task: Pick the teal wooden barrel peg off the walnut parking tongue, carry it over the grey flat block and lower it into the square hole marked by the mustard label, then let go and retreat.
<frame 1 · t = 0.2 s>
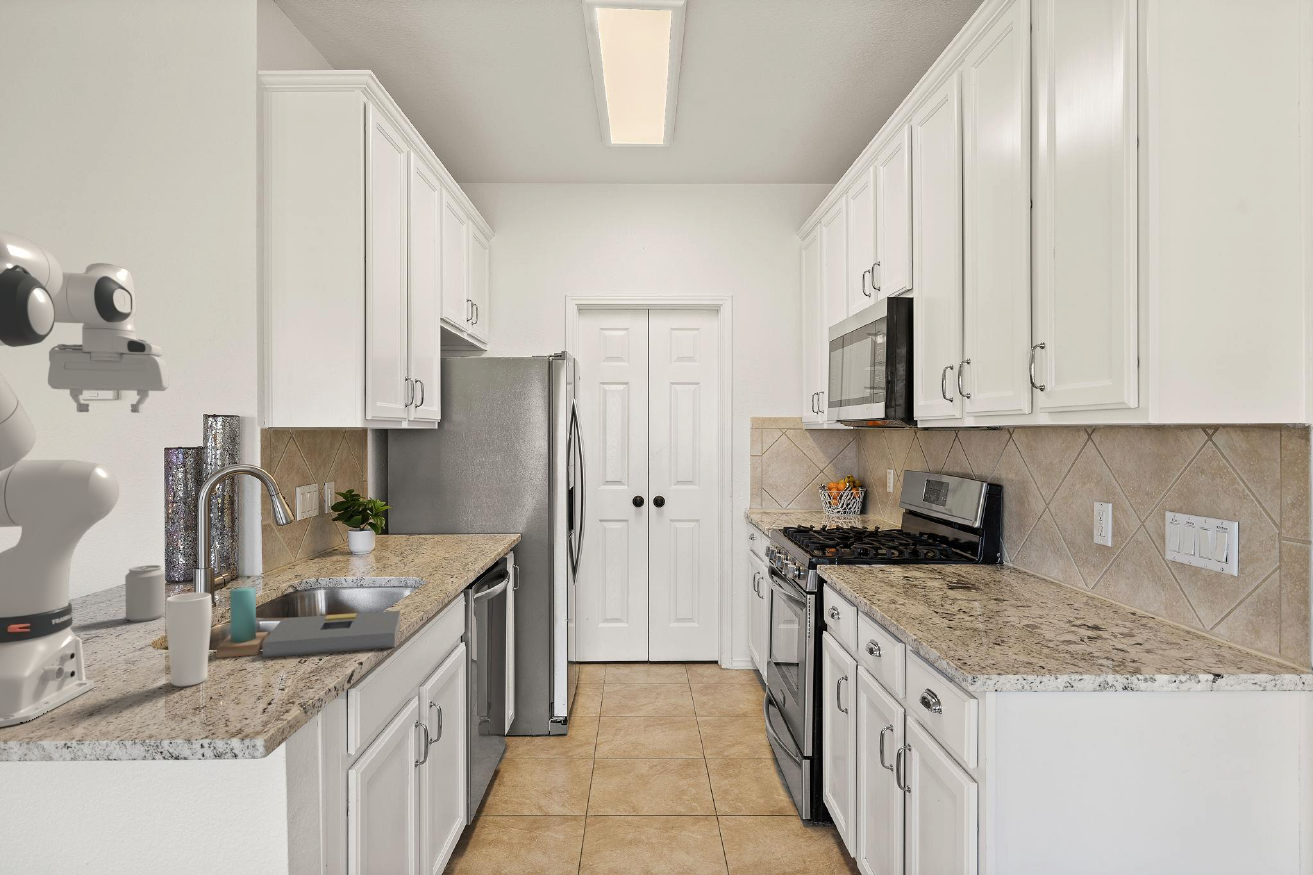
hand: (110, 412, 147), 47 cm above the countertop, fingers open, 8 cm apart
barrel peg: (243, 639, 143), point 2 cm above the countertop, touching parking tongue
can: (145, 619, 165), on the countertop
grey flat block: (336, 639, 149), on the countertop
drinking glass: (189, 683, 124), on the countertop
parking tongue: (243, 649, 143), on the countertop
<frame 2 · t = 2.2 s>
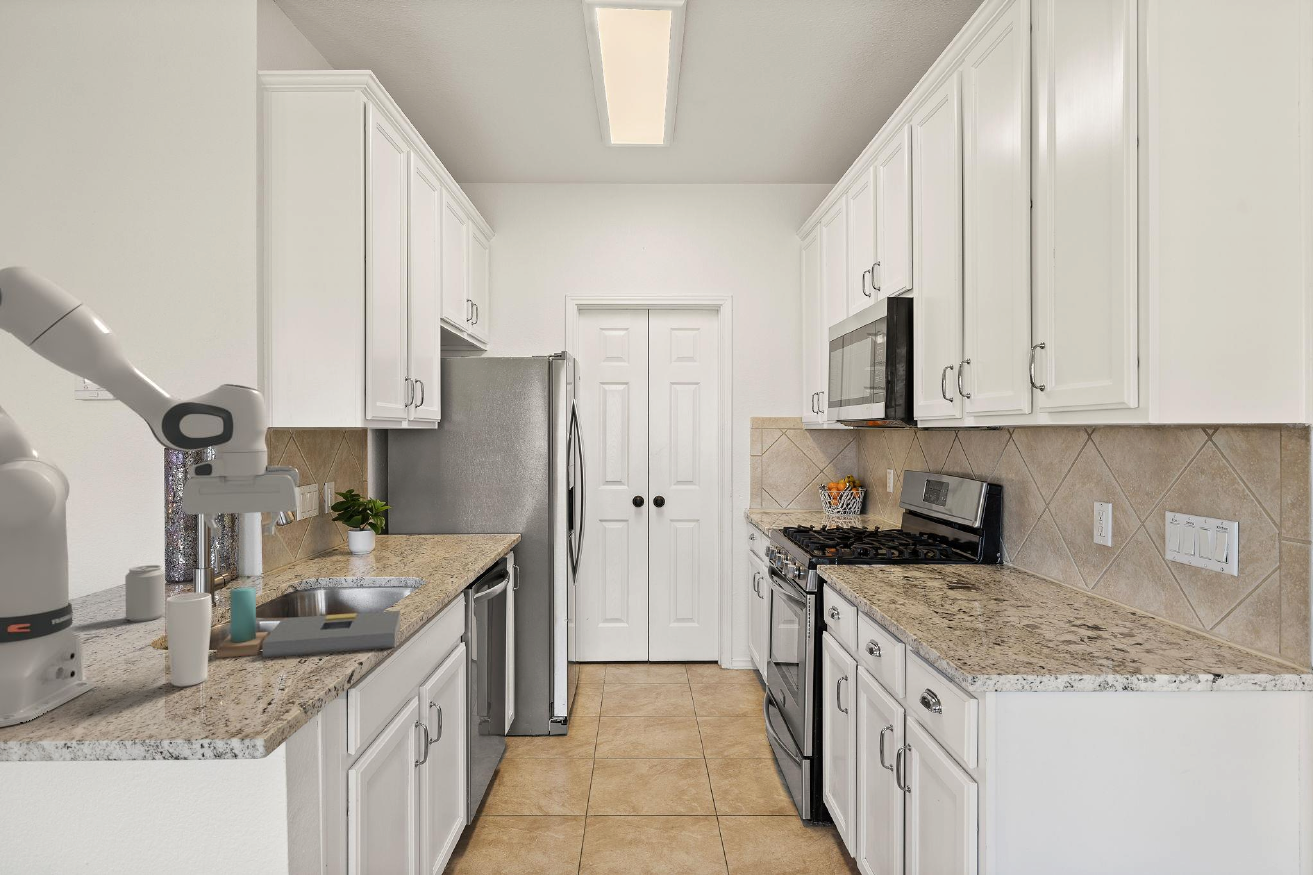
hand: (242, 535, 142), 23 cm above the countertop, fingers open, 8 cm apart
nothing on the countertop moved.
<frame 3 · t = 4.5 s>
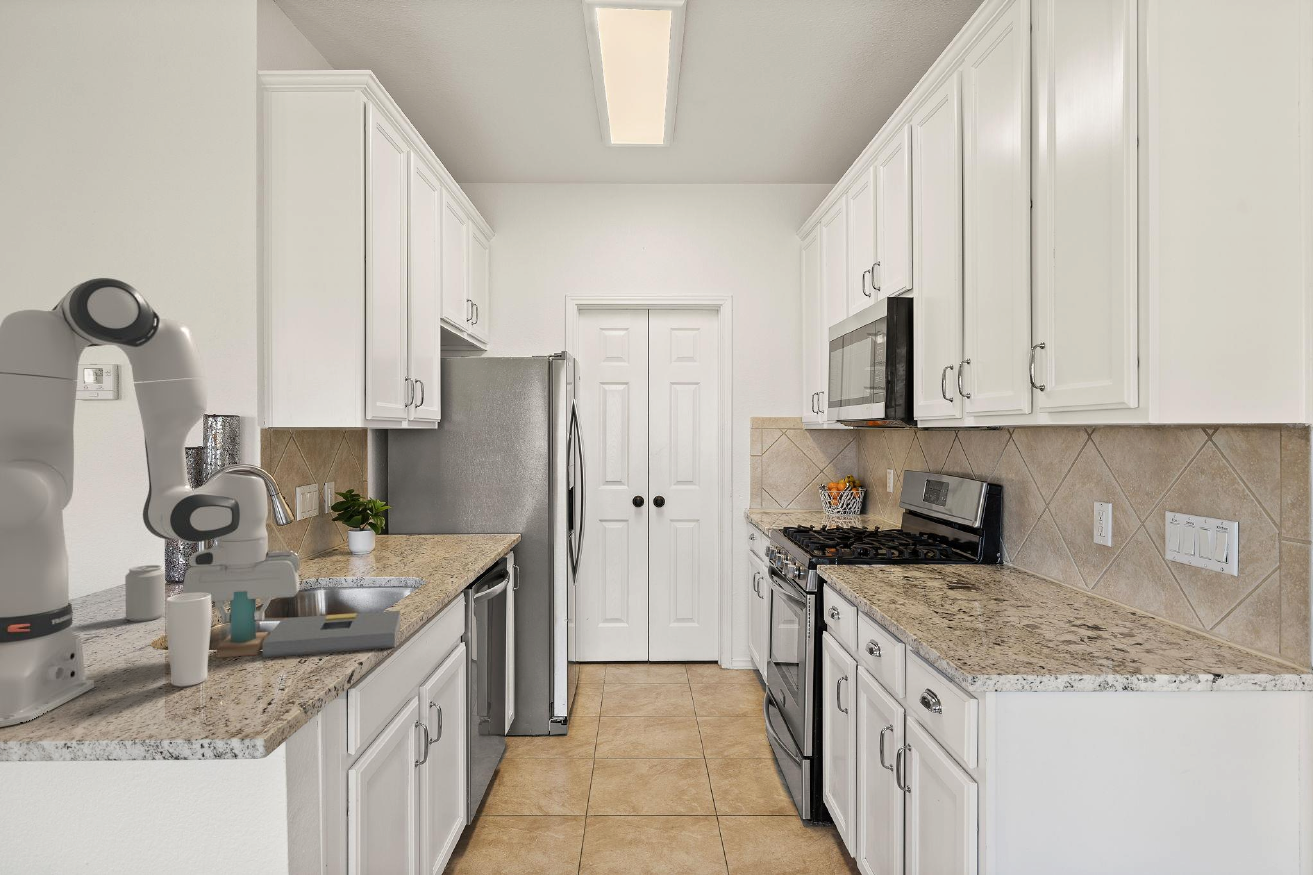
hand: (243, 621, 143), 6 cm above the countertop, fingers closed on barrel peg, 4 cm apart
barrel peg: (243, 639, 143), point 2 cm above the countertop, touching gripper, parking tongue
everything else where it was.
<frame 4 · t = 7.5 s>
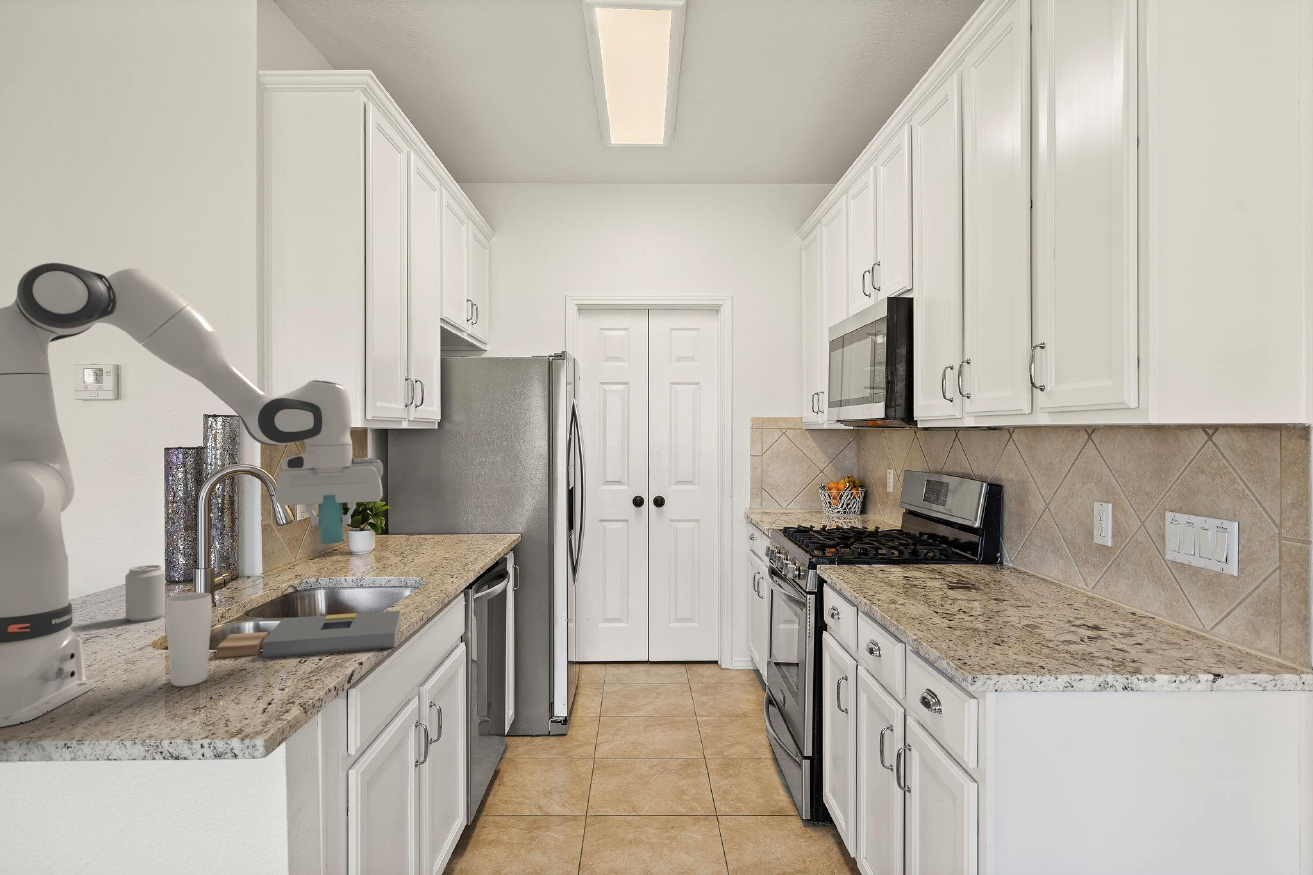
hand: (331, 524, 149), 24 cm above the countertop, fingers closed on barrel peg, 4 cm apart
barrel peg: (331, 541, 149), point 21 cm above the countertop, touching gripper
everything else where it was.
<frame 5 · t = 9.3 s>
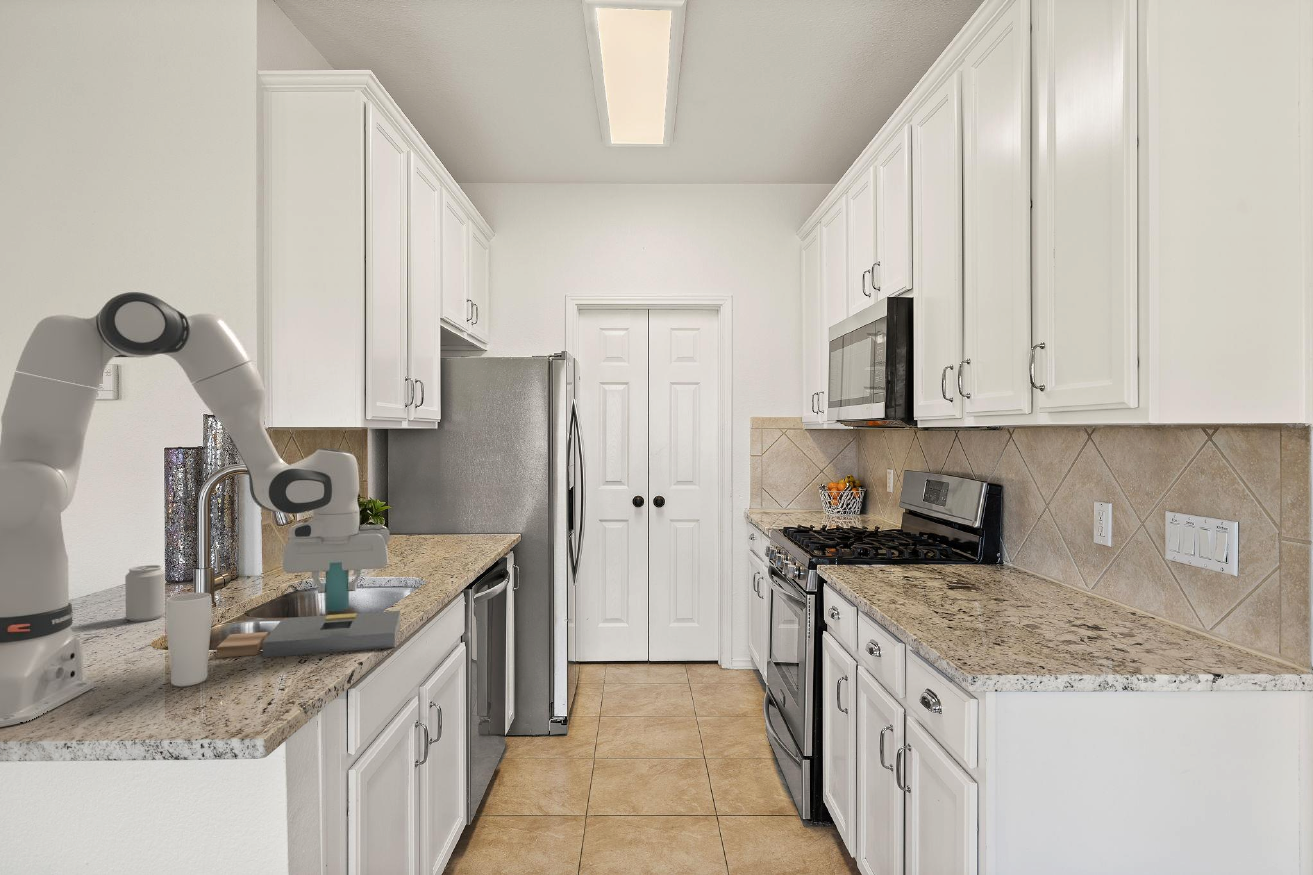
hand: (337, 591, 149), 10 cm above the countertop, fingers closed on barrel peg, 4 cm apart
barrel peg: (337, 608, 149), point 6 cm above the countertop, touching gripper
everything else where it was.
when the fingers open (6 cm above the countertop, at t = 10.5 s): barrel peg drops 2 cm, resting in grey flat block.
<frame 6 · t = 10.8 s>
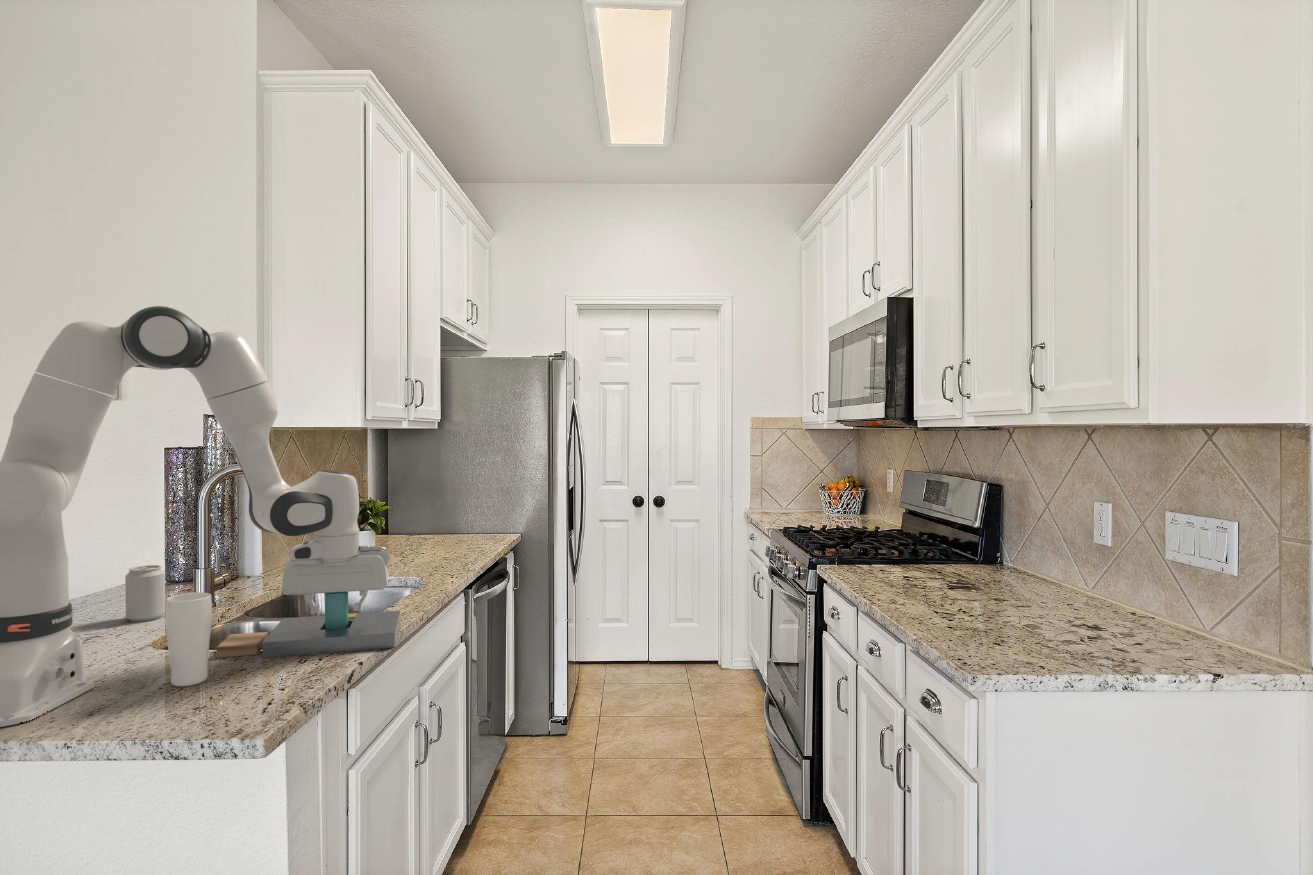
hand: (336, 612, 149), 6 cm above the countertop, fingers open, 7 cm apart
barrel peg: (336, 639, 149), resting in grey flat block
everything else where it was.
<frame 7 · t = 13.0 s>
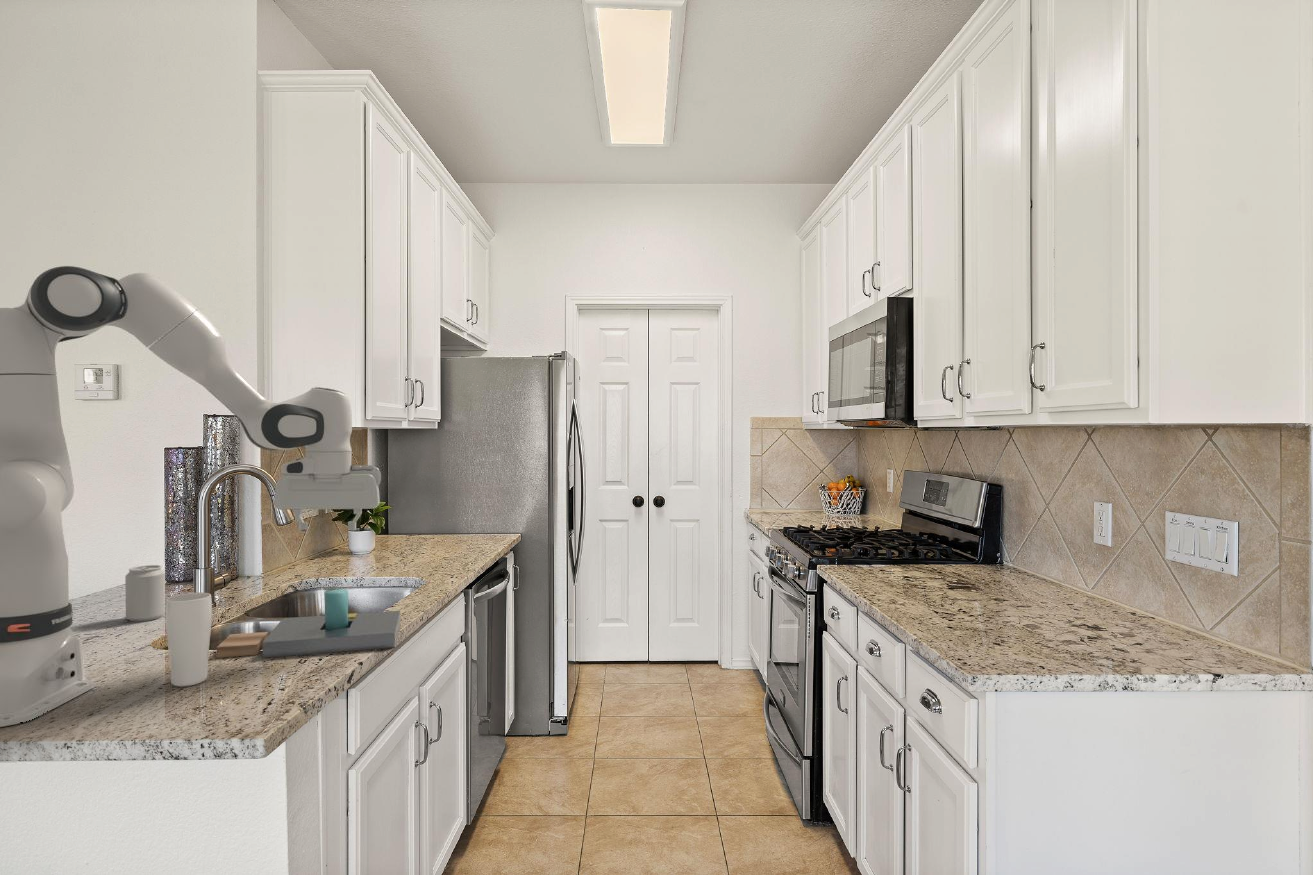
hand: (327, 530, 151), 23 cm above the countertop, fingers open, 8 cm apart
nothing on the countertop moved.
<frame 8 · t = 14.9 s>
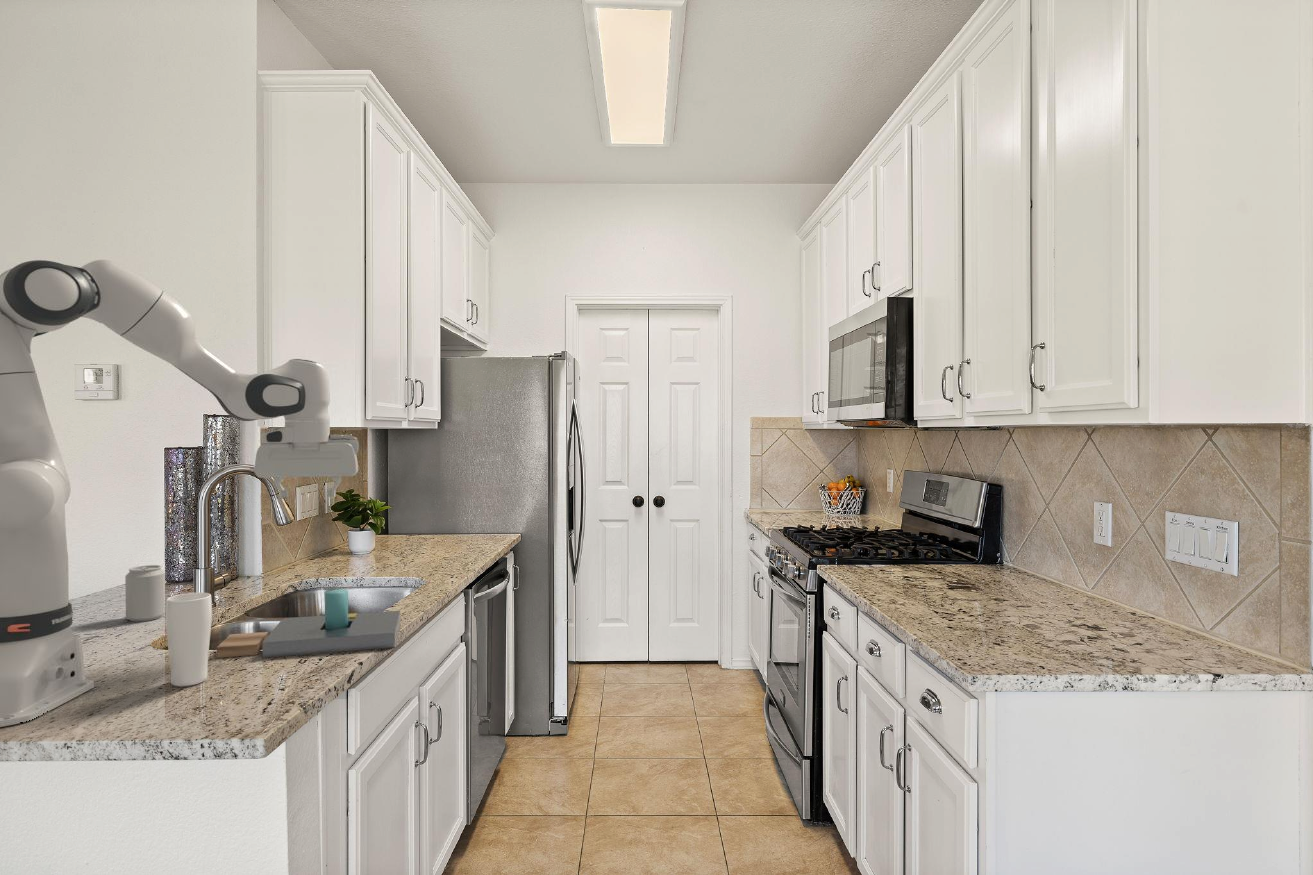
hand: (307, 497, 156), 29 cm above the countertop, fingers open, 8 cm apart
nothing on the countertop moved.
at the end: barrel peg 0.0 cm off-centre on the grey flat block, point 0.0 cm above the grey flat block's base; barrel peg tilted 0°; the gripper is holding nothing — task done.
